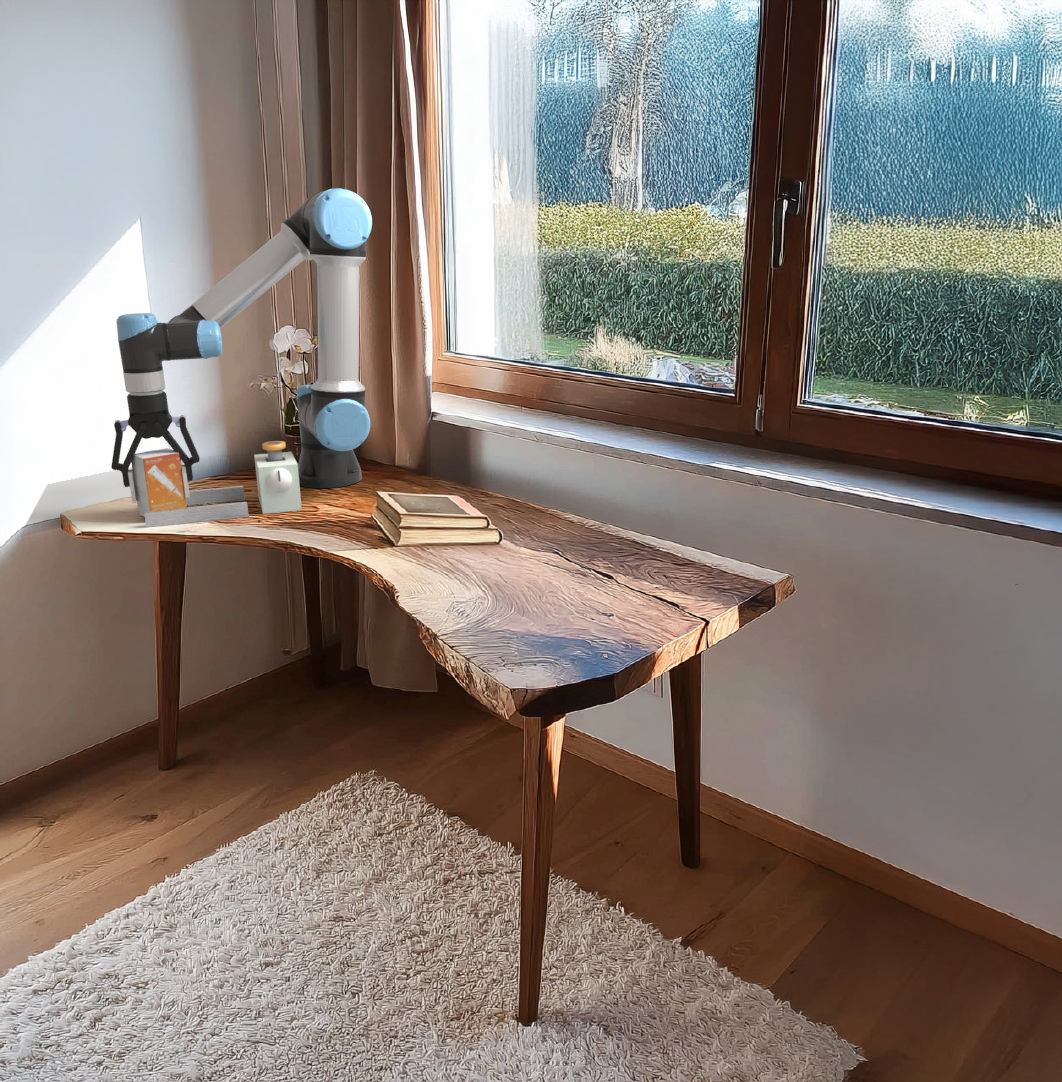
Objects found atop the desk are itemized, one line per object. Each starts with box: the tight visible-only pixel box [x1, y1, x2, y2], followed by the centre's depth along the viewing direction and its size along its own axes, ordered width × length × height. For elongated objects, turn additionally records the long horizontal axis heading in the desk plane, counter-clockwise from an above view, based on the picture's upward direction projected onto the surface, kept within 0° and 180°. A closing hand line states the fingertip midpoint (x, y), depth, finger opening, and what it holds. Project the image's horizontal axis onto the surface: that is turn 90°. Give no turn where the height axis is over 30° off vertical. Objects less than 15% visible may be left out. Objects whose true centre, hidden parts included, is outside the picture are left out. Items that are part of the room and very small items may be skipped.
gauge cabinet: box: [253, 451, 303, 515], centre depth 212 cm, size 8×14×10 cm, turn 19°
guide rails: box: [144, 485, 249, 528], centre depth 208 cm, size 20×15×3 cm
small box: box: [131, 447, 188, 518], centre depth 204 cm, size 8×6×13 cm
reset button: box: [261, 440, 287, 462], centre depth 210 cm, size 5×5×6 cm
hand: (161, 498), depth 205 cm, fingers closed on small box, 10 cm apart
